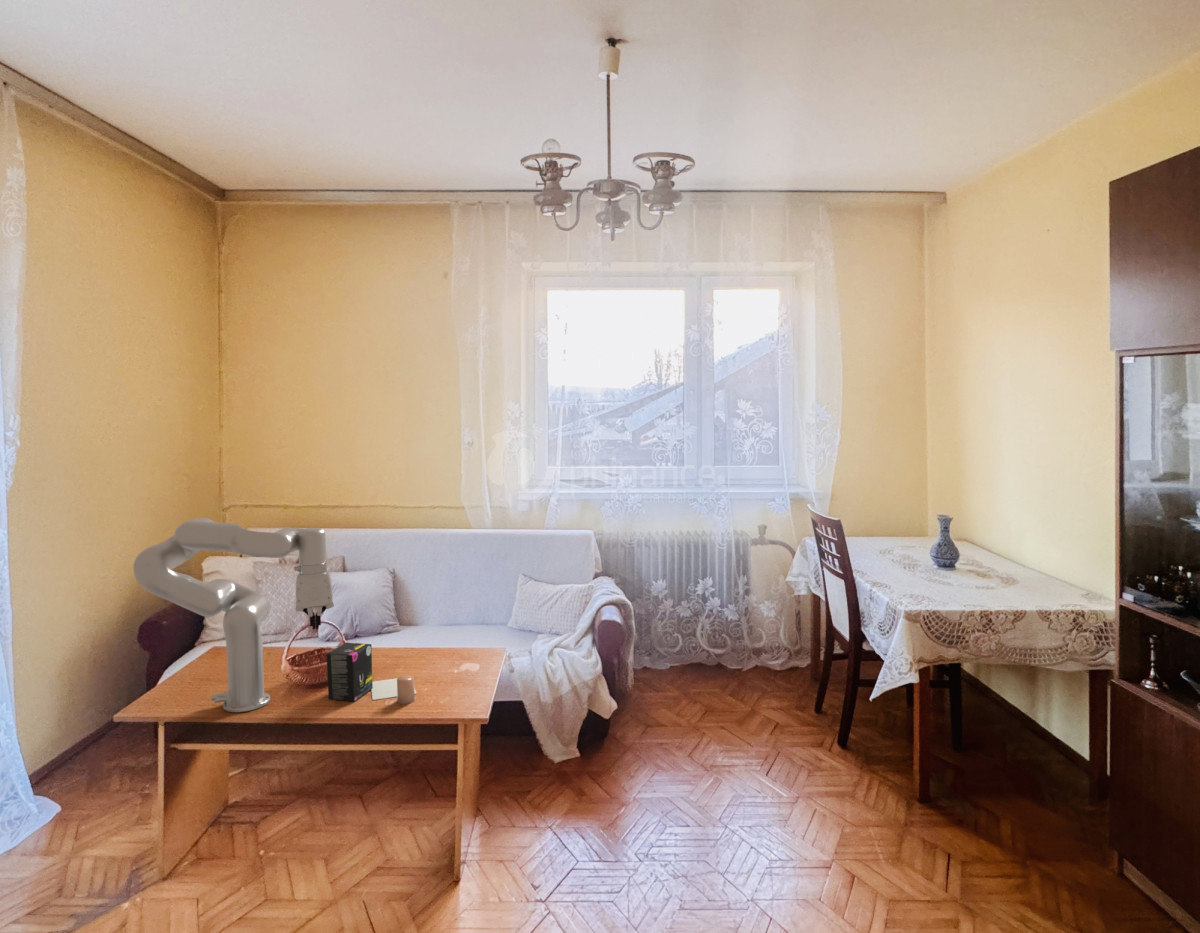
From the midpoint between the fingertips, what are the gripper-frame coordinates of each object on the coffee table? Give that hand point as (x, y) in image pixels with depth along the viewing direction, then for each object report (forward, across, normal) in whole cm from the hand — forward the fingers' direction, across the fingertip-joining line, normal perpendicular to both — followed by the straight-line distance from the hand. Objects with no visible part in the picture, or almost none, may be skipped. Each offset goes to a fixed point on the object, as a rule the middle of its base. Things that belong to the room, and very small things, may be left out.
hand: (315, 627), depth 201 cm
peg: (+23, +25, -11) cm, 36 cm away
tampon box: (+22, +10, 0) cm, 24 cm away
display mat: (+22, +22, 0) cm, 31 cm away
